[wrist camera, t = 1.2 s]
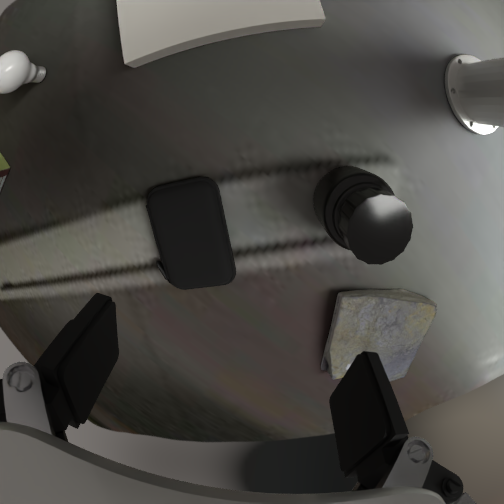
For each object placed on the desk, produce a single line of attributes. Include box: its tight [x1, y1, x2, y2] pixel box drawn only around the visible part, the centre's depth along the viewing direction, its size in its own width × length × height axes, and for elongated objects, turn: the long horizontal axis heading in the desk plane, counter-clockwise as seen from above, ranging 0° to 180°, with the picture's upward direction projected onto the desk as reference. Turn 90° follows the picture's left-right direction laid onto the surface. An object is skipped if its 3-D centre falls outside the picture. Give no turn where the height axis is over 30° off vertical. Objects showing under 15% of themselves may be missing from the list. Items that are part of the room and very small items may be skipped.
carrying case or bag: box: [146, 177, 236, 290], centre depth 36 cm, size 11×3×15 cm
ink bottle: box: [313, 166, 413, 265], centre depth 29 cm, size 10×9×12 cm
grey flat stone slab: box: [321, 289, 437, 382], centre depth 42 cm, size 20×5×17 cm
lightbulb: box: [0, 50, 46, 94], centre depth 22 cm, size 6×6×11 cm
